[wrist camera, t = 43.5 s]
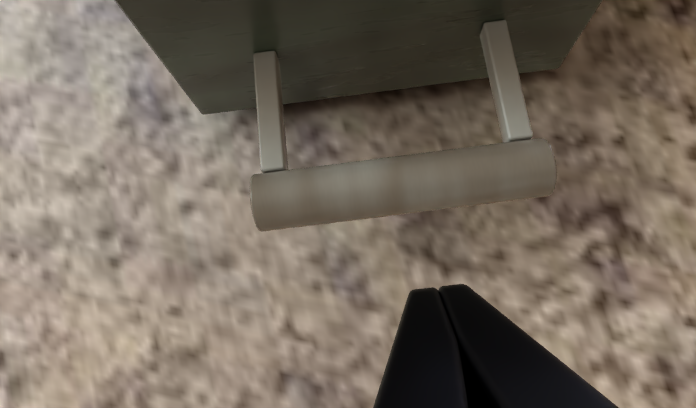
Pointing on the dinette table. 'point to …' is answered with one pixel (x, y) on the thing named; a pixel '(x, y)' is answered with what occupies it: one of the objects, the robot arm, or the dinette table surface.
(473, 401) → the robot arm
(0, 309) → the dinette table surface
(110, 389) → the dinette table surface
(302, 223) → the drawer
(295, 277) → the dinette table surface
